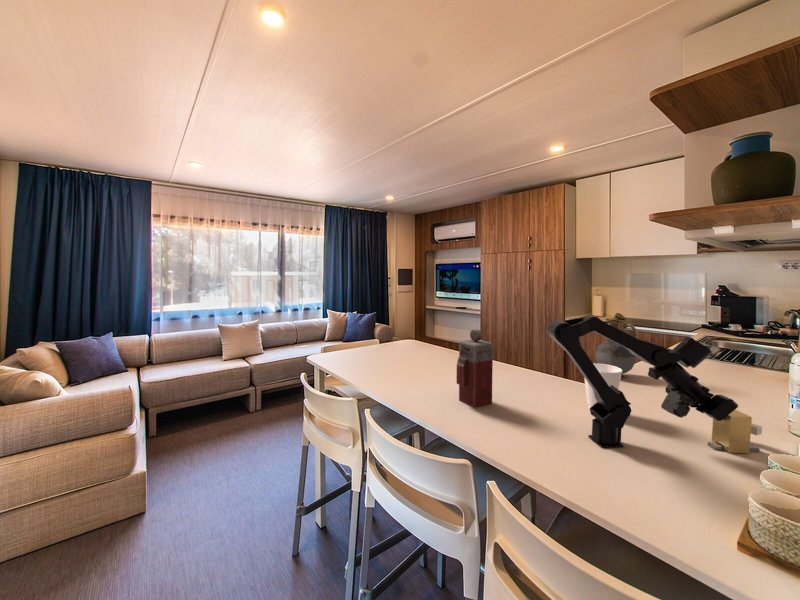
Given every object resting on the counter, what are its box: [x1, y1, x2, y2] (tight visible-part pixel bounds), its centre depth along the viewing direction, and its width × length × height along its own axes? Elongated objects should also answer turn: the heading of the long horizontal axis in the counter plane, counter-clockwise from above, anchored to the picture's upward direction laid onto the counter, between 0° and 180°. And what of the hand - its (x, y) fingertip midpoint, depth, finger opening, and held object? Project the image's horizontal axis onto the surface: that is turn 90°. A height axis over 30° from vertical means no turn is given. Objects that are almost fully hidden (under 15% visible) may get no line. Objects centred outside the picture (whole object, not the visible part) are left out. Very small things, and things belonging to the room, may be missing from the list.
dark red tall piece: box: [456, 328, 494, 409], centre depth 125 cm, size 9×11×28 cm
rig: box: [707, 422, 763, 453], centre depth 94 cm, size 13×9×6 cm, turn 83°
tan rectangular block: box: [711, 409, 753, 454], centre depth 91 cm, size 5×6×10 cm
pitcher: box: [595, 312, 638, 379], centre depth 156 cm, size 11×19×30 cm, turn 102°
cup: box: [583, 362, 623, 412], centre depth 115 cm, size 12×12×16 cm
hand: (720, 418), depth 91 cm, fingers closed, pressing on tan rectangular block
